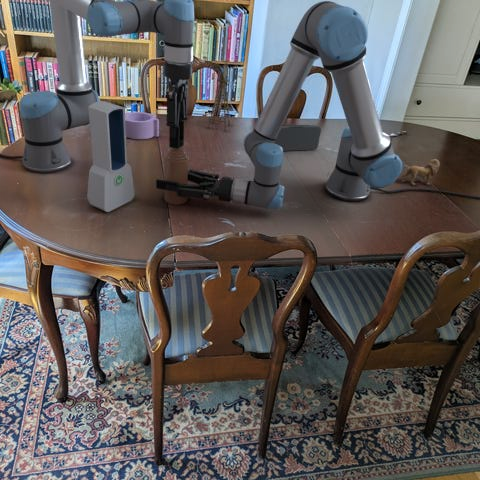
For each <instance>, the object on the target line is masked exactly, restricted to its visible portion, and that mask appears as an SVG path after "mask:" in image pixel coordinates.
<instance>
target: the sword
mask: <svg viewBox="0 0 480 480" xmlns="http://www.w3.org/2000/svg"><path fill="white" fill-rule="evenodd" d="M404 134H406V133H402V134H400V132H393V133H390V134H387V135H388V136H389V137H390V138H391V137H394V136H395V137H398V136H399V135H404Z"/></svg>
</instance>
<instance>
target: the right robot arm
mask: <svg viewBox="0 0 480 480" xmlns="http://www.w3.org/2000/svg"><path fill="white" fill-rule="evenodd" d="M368 38H369V28H368V25H367V23H366V20H365V18H364V17H363V16H362V15H361V14H360V13H359V12H358V11H356V10H355V9H354V8H352V7H350V6H346V5H342V4H339V3H336V2H334V1H330V0H322V1H319V2H317V3H314V4H313V5H311V6H310V7H309V9H307V11H306V12H305V13H304V14H303V16H302V18H301V20H300V21H299V23H298V25H297V27H296V29H295V32H294V33H293V35H292V37H291V39H290V42H289V44H290V50H289V53H288V55H287V57H286V59H285V61H284V64H283V66H282V68H281V69H280V72H279V74H278V76H277V79H276V81H275V83H274V85H273V87H272V89H271V92H270V94H269V96H268V97H267V100H266V101H265V104H264V106H263V109H262V111H261V112H260V115H259V117H258V120H257V122H256V123H255V126H254V128H253V130H252V131H250V132H249V133H247V134H246V135H245V137H244V138H243V147H244V151H245V153H246V155H247V156H248V158H249V159H250V161H251V163H252V165H253V167H254V175H253V180H250V179H244V178H238V177H237V178H234V177H230V176H225V175H224V176H222V177H221V178H219V177H220V174H216V173H214V174H213V173H209V172H205V171H200V170H196V169H188V182H190V183H191V184H189V183H188V184H179V182H177V183H176V182H170V181H164V179H156V180H155V189H158V190H163V191H164V190H169V191H175V192H176V193H177V196H179V197H187V199H189V198H190V199H198V200H204V201H210V200H211V199H210V198H211V197H218V200H219V201H220V202H225V203H230V202H232V203H233V204H239V205H240V206H242V205H245V206H250V207H256V208H261V209H265V210H276V211H277V210H280V209H281V208H282V206H283V201H284V196H285V186H284V185H281V184H280V178H281V171H282V165H283V161H284V151H283V149H282V147H281V146H278V145H277V144H274V142H275V140H276V137H277V135H278V133H279V131H280V129H281V127H282V125H284V123H285V121H286V119H287V117H288V115H289V113H290V111H291V110H292V107H293V106H294V104H295V101H296V99H297V98H298V95H299V93H300V92H301V89H302V87H303V85H304V84H305V81H306V79H307V78H308V75H309V74H310V72H311V69H312V67H313V65H314V63H315V61H317V60H319V59H320V62H321V64H322V68H323V69H324V71H326V72H329V73H331V76H332V79H333V82H334V85H335V89H336V92H337V95H338V98H339V101H340V104H341V107H342V111H343V114H344V117H345V119H346V123H347V127H345V128H344V129H343V131H342V134H341V136H340V143H339V148H338V153H337V157H336V162H335V165H334V169H333V171H332V172H331V173H330V172H328V173H327V175H326V178H328V179H327V180H326V183H325V188H324V189H325V191H326V192H327V194H329V195H330V196H331V197H333V198H335V199H338V200H340V201H345V202H351V203H356V202H357V203H359V202H363V201H366V200H368V199H369V197H370V194H371V190H373V191H379V192H381V193H385V194H393V193H399V192H408V191H409V192H411V191H423V192H425V191H426V192H433V193H434V192H436V193H441V194H449V195H455V196H460V197H467V198H472V199H479V200H480V196H478V195H471V194H467V193H466V194H465V193H460V192H453V191H449V190H442V189H435V188H423V187H422V188H419V187H418V188H417V187H413V188H412V187H411V188H400V189H394V190H386V189H385V190H384V189H383V188H387V187H389V186H391V185H393V184H394V183H395V182H396V181H397V180H398V177H399V176H400V175H401V173H402V171H403V161H402V159H401V158H400V156H399V155H397V154H395V152H394V148H393V144H392V141H391V137H389V136H388V135H389V134H386V133H385V132H383V128H382V124H381V121H380V118H379V114H378V110H377V107H376V103H375V100H374V99H375V98H374V95H373V92H372V89H371V88H372V87H371V84H370V81H369V77H368V74H367V70H366V66H365V62H364V59H365V57H366V55H367V54H368V50H367V47H366V43H367V42H368ZM329 174H330V175H329ZM328 176H329V177H328ZM192 183H193V184H192Z"/></svg>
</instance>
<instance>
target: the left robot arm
mask: <svg viewBox="0 0 480 480" xmlns="http://www.w3.org/2000/svg"><path fill="white" fill-rule="evenodd" d="M48 1H49V7H50V16H51V23H52V31H53V38H54V46H55V53H56V55H55V56H56V62H57V71H58V77H59V81H58V82H57V84H56V85H55V92H54V91H51V90H41V91H40V90H37V91H32V92H29V93H26V94H24V95H23V96H22V97H21V98H20V100H19V103H18V104H19V116H20V119H21V125H22V132H23V137H24V148H23V153H22V155H14V156H13V155H12V156H11V155H5V154H2V153H0V158H3V159H10V160H15V159H18V160H19V159H22V160H21V161H22V166H23V168H24V169H25V170H27V171H29V172H33V173H39V174H46V173H56V172H61V171H63V170H66V169H67V168H69V167H70V166H71V163H72V159H71V155H70V153H69V151H68V150H67V149H68V148H67V147H66V145H65V143H64V140H63V132H64V131H67V130H71V129H76V128H80V127H86V126H88V125H90V121H89V109H88V107H89V106H90V105H91V104H93V103H95V102H98V101H101V98H100V97H99V94H98V92H97V91H96V90H94V89H93V85H92V84H91V83H90V82H89V81H88V80H87V69H86V59H85V49H84V37H83V27H82V19H83V20H85V21H87V24H88V26H89V28H90V29H91V31H92V33H93V34H95V35H96V36H98V37H108V38H111V37H115V36H124V35H132V34H133V35H134V34H143V33H153V34H154V33H155V34H159V35H162V36H163V46H162V51H164V53H163V54H164V56H163V57H164V60H165V61H164V62H163V76H164V77H165V78H167V79H169V80H170V81H169V82H170V83H169V84H168V90H166V91H165V97H166V124H165V125H166V126H167V127H169V137H168V138H169V141H168V143H169V144H168V145H169V146H168V147H169V148H170V147H171V148H177V149H179V136H181V137H183V138H184V139H185V121H188V119H189V117H188V116H187V115H188V99H189V98H188V95H189V85H190V82H189V81H188V80H190V79H192V78H193V64H192V63H193V61H194V58H193V57H194V27H195V3H194V1H193V0H163V1H164V2H160V1H155V0H123V1H121V0H120V1H117V0H48Z"/></svg>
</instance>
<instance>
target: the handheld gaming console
mask: <svg viewBox="0 0 480 480" xmlns="http://www.w3.org/2000/svg"><path fill="white" fill-rule="evenodd" d="M321 133H322V127H321V126H319V125H318V124H292V125H291V124H290V125H289V124H286V125H285V124H283V125H282V127H281V129H280V131H279V133H278V135H277V137H276V140H275V142H274V144H277V145H278V146H281V147H282V149H283V152H289V151H290V152H292V151H294V152H295V151H312V150H317V148H318V147H319V144H320V137H321Z"/></svg>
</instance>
